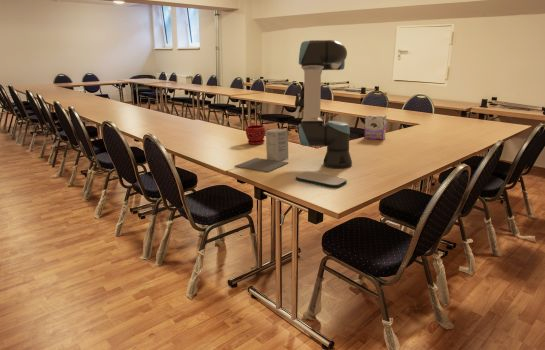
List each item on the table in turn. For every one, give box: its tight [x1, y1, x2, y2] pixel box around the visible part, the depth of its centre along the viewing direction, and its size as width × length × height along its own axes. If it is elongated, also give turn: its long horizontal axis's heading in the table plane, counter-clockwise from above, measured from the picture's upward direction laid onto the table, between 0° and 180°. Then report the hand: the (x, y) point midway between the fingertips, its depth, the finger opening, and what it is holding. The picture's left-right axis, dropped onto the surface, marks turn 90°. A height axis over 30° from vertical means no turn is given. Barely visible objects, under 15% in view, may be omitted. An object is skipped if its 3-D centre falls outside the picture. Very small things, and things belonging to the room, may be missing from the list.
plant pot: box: [245, 124, 266, 146], centre depth 262 cm, size 13×13×12 cm
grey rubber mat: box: [234, 157, 289, 173], centre depth 209 cm, size 22×20×1 cm
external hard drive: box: [295, 171, 348, 189], centre depth 179 cm, size 24×12×2 cm, turn 51°
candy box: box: [363, 114, 387, 141], centre depth 267 cm, size 14×6×16 cm, turn 58°
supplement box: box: [265, 128, 289, 161], centre depth 220 cm, size 10×9×17 cm
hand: (296, 116), depth 233 cm, fingers closed
